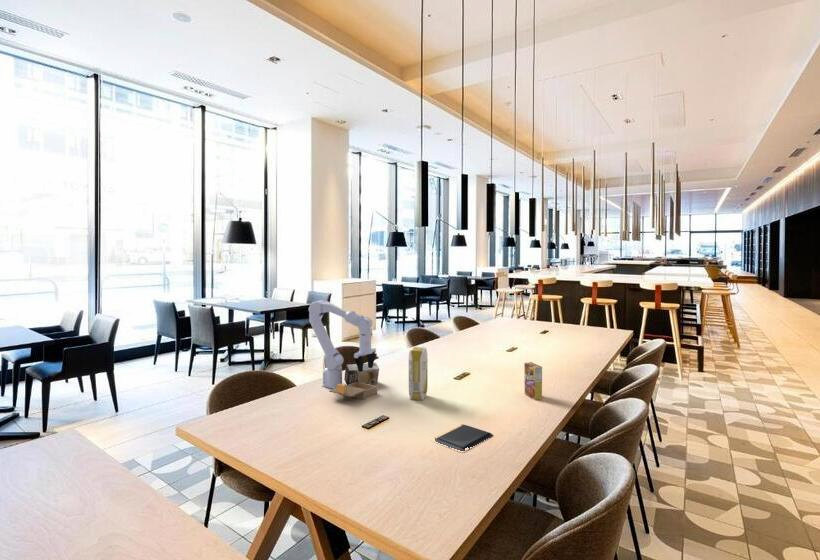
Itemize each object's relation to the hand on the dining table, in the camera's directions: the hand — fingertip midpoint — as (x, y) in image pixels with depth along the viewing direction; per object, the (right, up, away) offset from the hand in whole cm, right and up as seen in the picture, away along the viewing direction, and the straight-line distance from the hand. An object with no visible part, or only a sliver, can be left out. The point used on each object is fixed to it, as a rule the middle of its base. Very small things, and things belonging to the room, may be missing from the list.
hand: (365, 369), depth 218 cm
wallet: (+41, -14, -57) cm, 72 cm away
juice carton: (+26, -11, -13) cm, 31 cm away
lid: (-7, -7, -15) cm, 18 cm away
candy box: (+79, -10, -13) cm, 81 cm away
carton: (-2, -10, -8) cm, 13 cm away
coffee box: (+5, -4, +9) cm, 11 cm away
